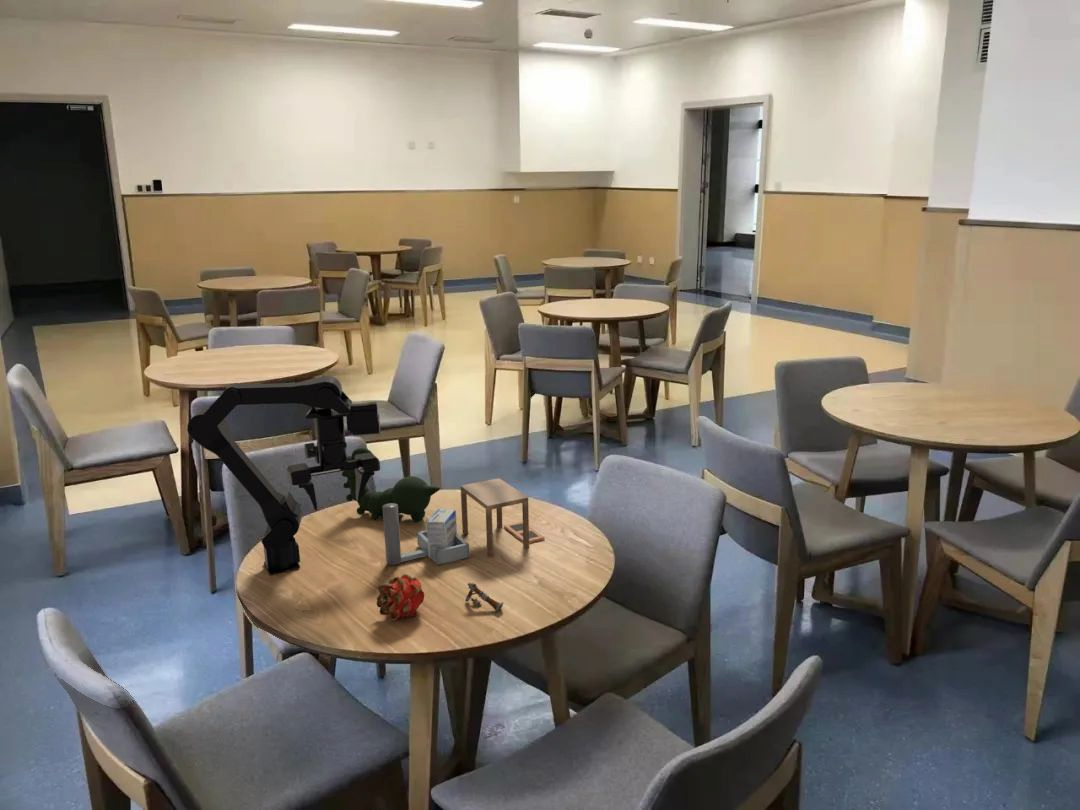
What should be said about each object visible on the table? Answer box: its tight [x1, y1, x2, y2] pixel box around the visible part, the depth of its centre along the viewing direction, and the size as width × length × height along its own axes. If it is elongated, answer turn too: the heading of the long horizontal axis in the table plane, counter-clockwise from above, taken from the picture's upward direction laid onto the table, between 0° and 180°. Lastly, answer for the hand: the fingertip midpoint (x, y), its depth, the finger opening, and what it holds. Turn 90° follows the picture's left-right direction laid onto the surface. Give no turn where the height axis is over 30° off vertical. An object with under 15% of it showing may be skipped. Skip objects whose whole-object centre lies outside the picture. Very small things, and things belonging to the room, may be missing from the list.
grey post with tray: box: [382, 503, 470, 566], centre depth 179 cm, size 17×12×13 cm
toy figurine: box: [341, 447, 441, 523], centre depth 200 cm, size 9×19×25 cm
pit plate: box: [503, 520, 545, 544], centre depth 192 cm, size 5×11×1 cm, turn 29°
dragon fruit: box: [376, 573, 425, 621], centre depth 156 cm, size 8×8×12 cm
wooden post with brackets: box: [465, 582, 504, 614], centre depth 158 cm, size 2×8×4 cm, turn 61°
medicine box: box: [425, 508, 458, 558], centre depth 182 cm, size 8×4×9 cm, turn 168°
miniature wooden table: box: [460, 477, 530, 558], centre depth 187 cm, size 10×15×12 cm
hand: (337, 505), depth 176 cm, fingers open, 9 cm apart
